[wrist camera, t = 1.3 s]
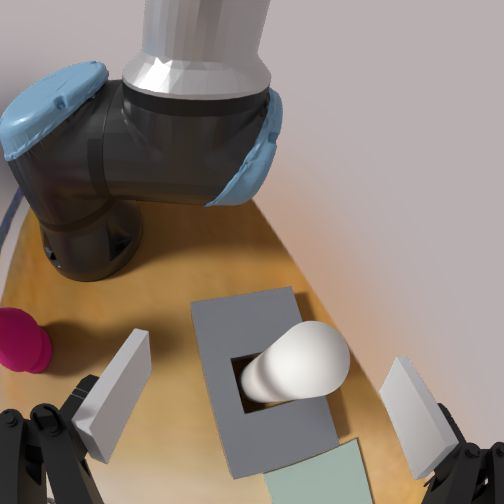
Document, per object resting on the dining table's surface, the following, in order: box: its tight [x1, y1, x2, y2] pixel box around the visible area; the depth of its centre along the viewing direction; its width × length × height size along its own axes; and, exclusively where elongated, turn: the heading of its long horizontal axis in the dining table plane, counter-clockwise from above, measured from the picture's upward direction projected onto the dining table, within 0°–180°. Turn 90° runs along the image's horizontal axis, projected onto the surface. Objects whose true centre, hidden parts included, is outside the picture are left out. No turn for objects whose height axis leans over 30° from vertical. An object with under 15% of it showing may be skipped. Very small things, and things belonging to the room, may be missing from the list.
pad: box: [263, 439, 373, 504], centre depth 23 cm, size 12×12×1 cm
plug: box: [238, 321, 350, 403], centre depth 23 cm, size 5×5×16 cm
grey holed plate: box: [191, 286, 340, 479], centre depth 29 cm, size 20×12×3 cm, turn 14°
